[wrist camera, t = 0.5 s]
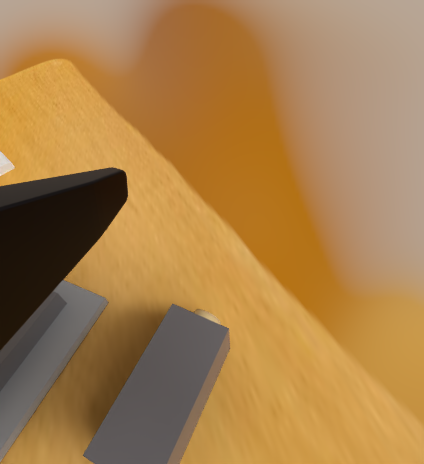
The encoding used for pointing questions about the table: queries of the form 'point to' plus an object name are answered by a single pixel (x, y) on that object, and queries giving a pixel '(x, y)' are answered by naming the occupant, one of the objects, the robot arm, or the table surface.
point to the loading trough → (42, 354)
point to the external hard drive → (5, 164)
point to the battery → (164, 392)
